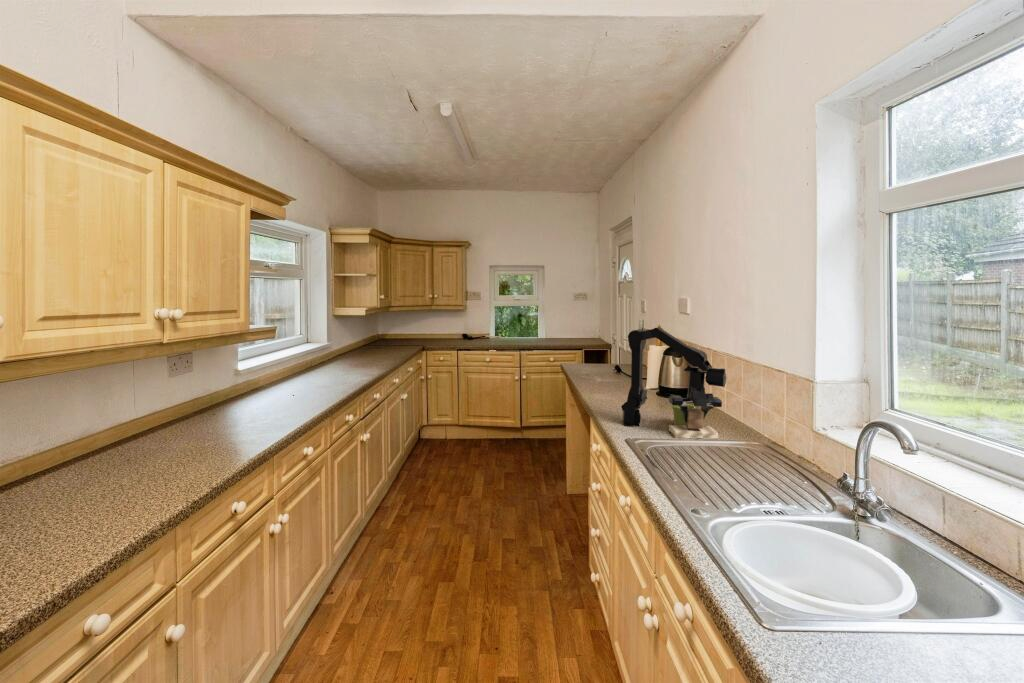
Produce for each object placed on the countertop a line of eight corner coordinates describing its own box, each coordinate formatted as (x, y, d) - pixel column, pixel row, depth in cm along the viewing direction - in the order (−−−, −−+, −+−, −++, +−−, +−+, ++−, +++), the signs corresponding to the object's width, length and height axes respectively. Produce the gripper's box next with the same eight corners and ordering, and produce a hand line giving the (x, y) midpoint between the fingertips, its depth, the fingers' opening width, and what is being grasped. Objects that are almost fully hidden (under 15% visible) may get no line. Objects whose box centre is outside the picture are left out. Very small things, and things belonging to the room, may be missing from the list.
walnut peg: (687, 434, 194) (689, 411, 193) (683, 430, 199) (685, 408, 198) (702, 435, 193) (703, 412, 192) (697, 430, 199) (699, 408, 198)
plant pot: (665, 423, 212) (666, 403, 211) (684, 422, 215) (685, 402, 214) (679, 430, 203) (680, 409, 202) (698, 428, 206) (700, 408, 205)
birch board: (675, 438, 192) (675, 431, 192) (669, 430, 202) (669, 424, 201) (717, 439, 191) (718, 433, 191) (709, 432, 201) (710, 426, 201)
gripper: (677, 386, 187) (674, 427, 189) (728, 388, 186) (725, 429, 187) (669, 380, 198) (667, 419, 200) (718, 382, 197) (715, 421, 199)
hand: (693, 422), depth 196 cm, fingers closed on walnut peg, 5 cm apart
